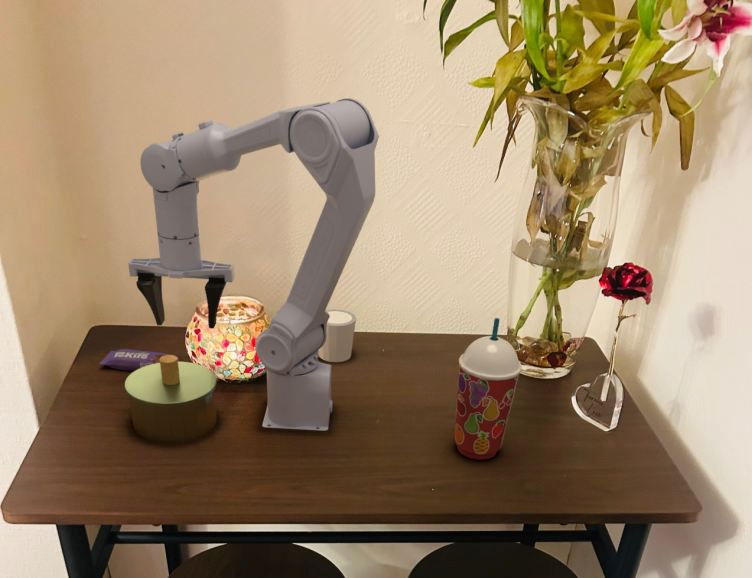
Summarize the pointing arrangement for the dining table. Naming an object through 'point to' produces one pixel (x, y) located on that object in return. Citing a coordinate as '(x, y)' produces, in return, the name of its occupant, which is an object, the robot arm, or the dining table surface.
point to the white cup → (338, 336)
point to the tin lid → (170, 383)
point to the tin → (174, 419)
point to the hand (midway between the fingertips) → (186, 324)
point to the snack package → (131, 359)
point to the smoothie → (485, 395)
